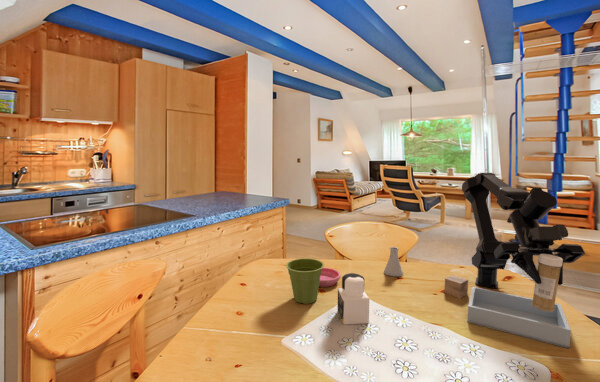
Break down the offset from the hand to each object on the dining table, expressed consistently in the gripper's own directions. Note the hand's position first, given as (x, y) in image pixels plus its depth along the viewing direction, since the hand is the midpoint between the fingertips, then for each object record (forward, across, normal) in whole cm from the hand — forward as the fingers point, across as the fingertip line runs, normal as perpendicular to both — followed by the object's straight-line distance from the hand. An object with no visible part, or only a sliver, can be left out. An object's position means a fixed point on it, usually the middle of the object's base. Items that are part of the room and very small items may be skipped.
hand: (550, 284), depth 73 cm
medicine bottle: (+9, -47, +10) cm, 49 cm away
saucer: (-8, -57, +27) cm, 64 cm away
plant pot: (+2, -62, +17) cm, 64 cm away
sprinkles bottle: (+4, 0, +6) cm, 7 cm away
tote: (+6, -4, +13) cm, 15 cm away
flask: (-15, -31, +35) cm, 49 cm away
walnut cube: (-5, -14, +24) cm, 28 cm away
